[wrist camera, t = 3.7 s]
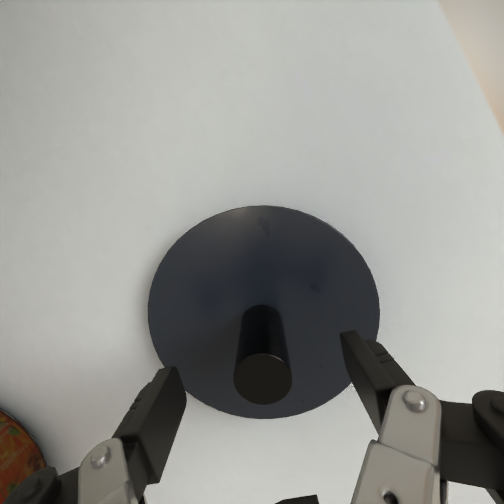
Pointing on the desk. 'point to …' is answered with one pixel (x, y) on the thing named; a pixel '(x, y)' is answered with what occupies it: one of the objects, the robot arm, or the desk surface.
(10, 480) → the food container
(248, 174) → the desk surface
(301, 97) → the desk surface
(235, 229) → the lid
